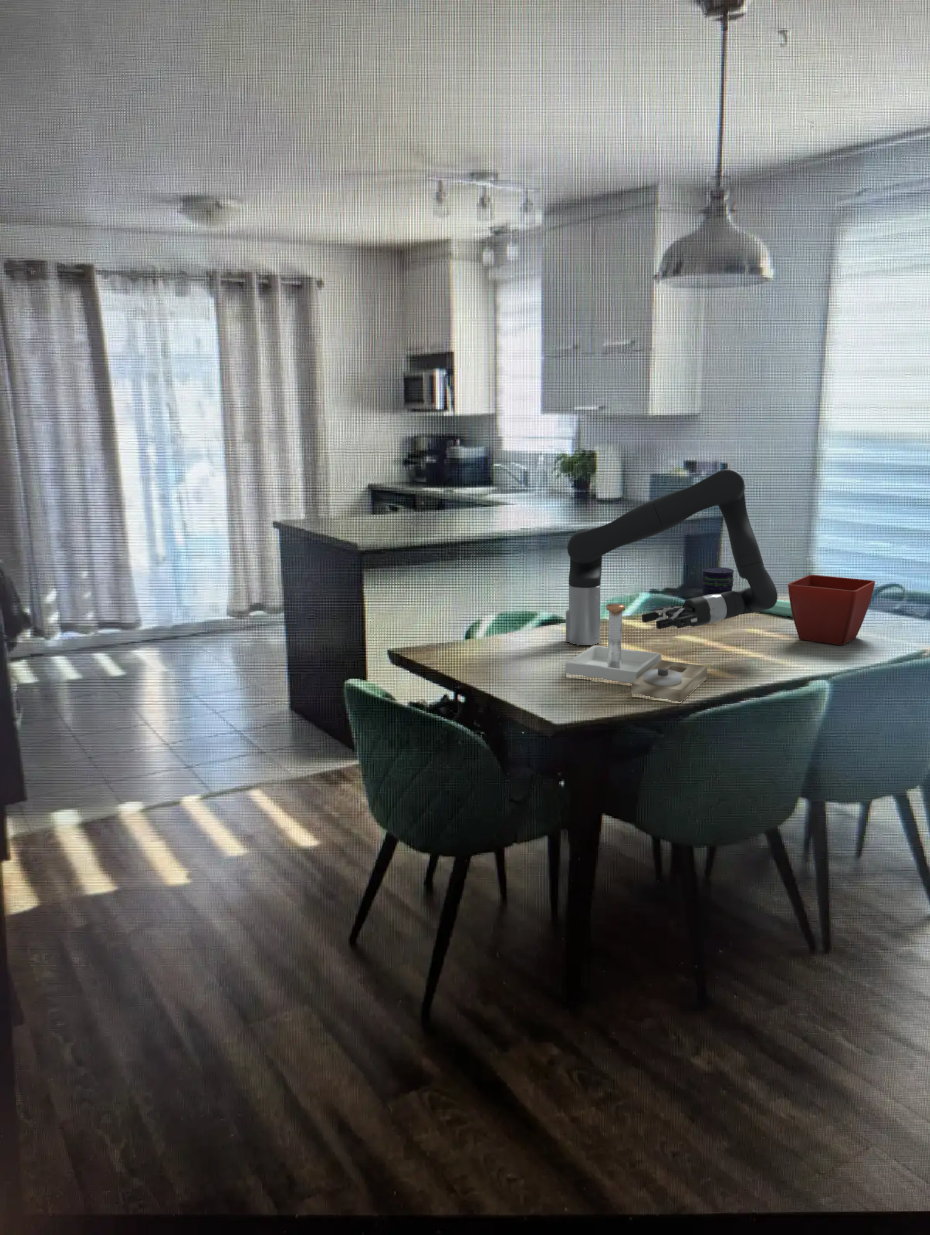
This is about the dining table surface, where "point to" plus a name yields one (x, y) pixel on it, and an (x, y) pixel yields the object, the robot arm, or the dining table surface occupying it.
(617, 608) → the lock pin
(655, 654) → the tray
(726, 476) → the robot arm
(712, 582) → the storage jar
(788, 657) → the dining table surface
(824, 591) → the plant pot
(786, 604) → the mint green rod
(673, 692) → the wooden peg base
